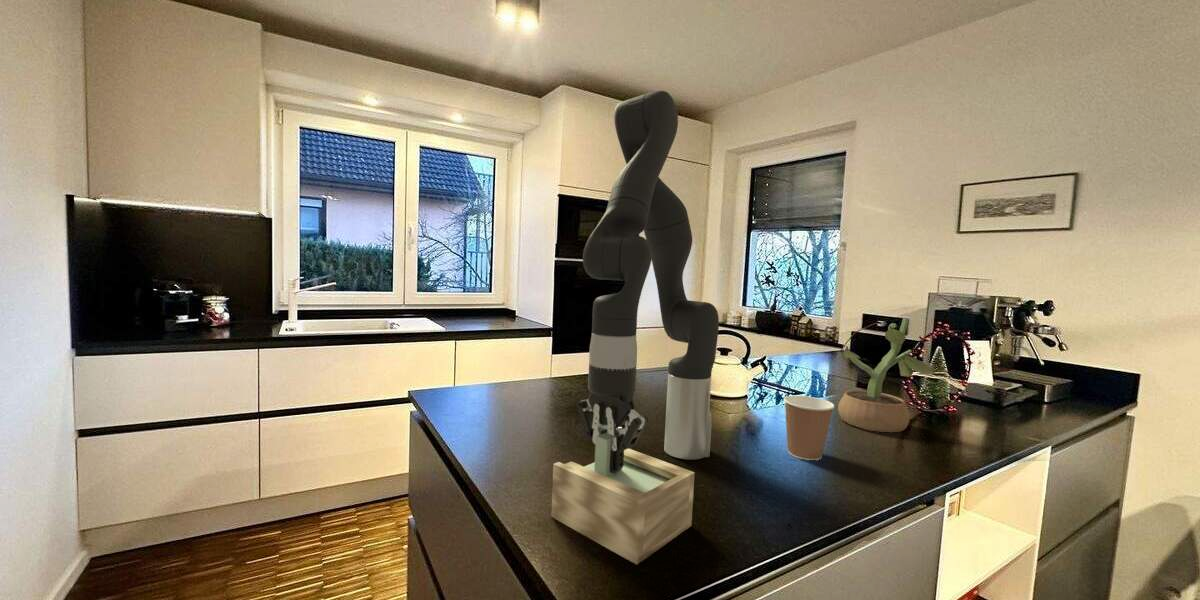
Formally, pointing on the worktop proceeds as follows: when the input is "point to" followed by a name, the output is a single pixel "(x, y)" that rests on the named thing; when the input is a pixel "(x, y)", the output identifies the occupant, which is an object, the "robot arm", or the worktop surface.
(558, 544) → the worktop surface
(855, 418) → the potted plant
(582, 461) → the worktop surface
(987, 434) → the worktop surface
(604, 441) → the lid
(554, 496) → the box
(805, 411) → the coffee cup
